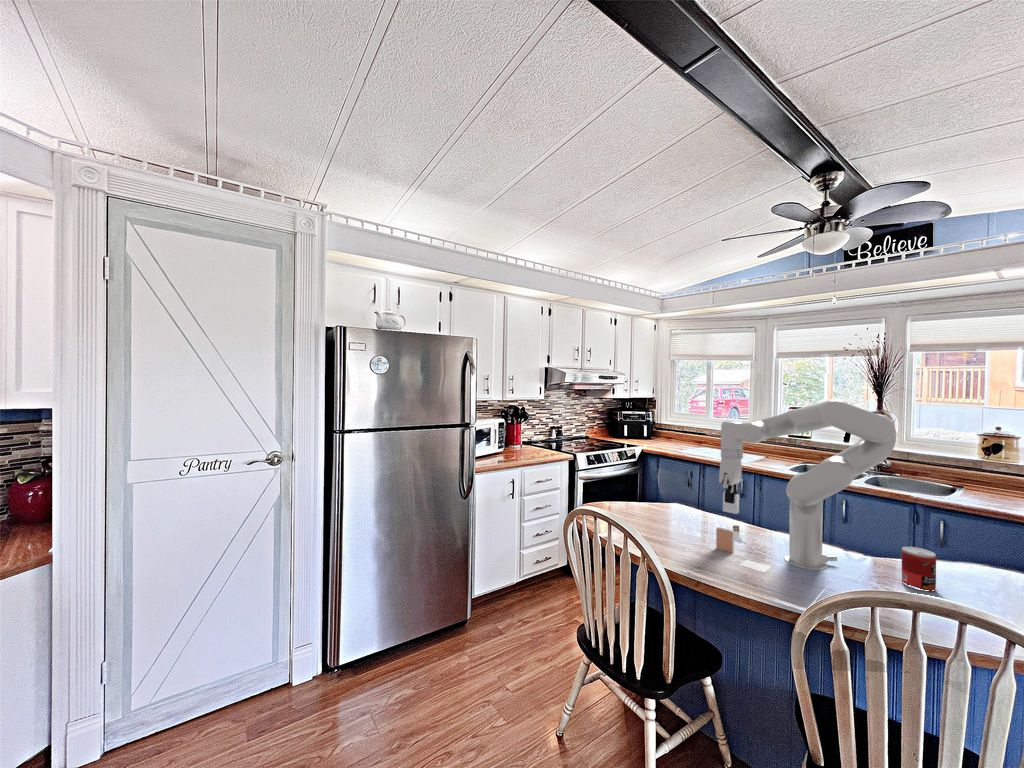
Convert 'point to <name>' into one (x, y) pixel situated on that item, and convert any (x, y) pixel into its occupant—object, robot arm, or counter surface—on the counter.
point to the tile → (725, 539)
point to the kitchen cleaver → (737, 534)
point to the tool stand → (755, 566)
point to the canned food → (919, 568)
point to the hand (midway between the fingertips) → (730, 501)
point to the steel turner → (729, 506)
